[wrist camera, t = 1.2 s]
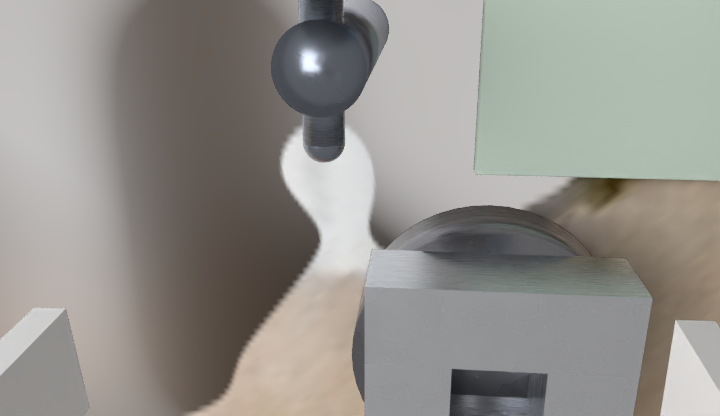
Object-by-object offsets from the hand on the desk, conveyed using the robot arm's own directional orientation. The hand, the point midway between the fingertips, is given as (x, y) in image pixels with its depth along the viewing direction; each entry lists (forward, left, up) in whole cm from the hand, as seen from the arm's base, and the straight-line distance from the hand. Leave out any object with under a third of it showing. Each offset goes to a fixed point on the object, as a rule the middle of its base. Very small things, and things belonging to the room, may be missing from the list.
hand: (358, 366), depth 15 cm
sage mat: (-4, +10, -21) cm, 24 cm away
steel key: (-5, -2, -21) cm, 22 cm away
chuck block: (+11, +5, -21) cm, 24 cm away
